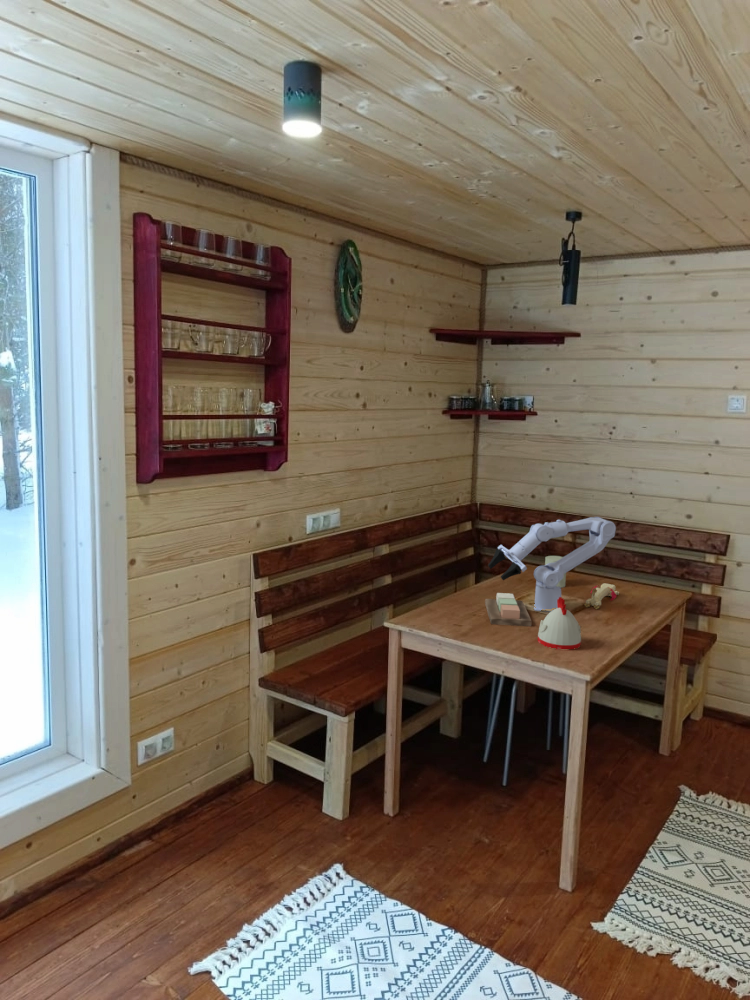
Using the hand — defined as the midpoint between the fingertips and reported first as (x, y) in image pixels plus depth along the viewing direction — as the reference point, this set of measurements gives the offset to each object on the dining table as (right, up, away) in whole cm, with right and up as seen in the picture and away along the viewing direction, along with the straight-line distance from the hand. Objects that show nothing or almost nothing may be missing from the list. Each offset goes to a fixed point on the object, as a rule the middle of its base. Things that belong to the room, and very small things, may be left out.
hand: (495, 572), depth 278 cm
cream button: (+4, -12, +5) cm, 14 cm away
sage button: (+4, -14, -2) cm, 14 cm away
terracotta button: (+4, -15, -10) cm, 18 cm away
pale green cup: (+31, -9, +41) cm, 53 cm away
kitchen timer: (+16, -20, -29) cm, 39 cm away
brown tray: (+4, -15, -2) cm, 16 cm away
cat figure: (+45, -13, +21) cm, 51 cm away
